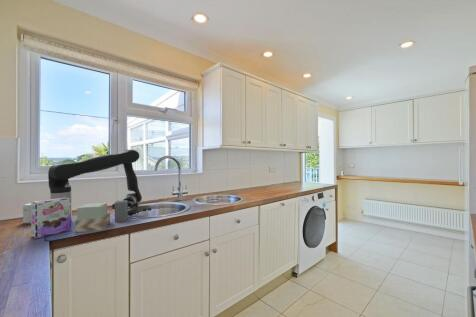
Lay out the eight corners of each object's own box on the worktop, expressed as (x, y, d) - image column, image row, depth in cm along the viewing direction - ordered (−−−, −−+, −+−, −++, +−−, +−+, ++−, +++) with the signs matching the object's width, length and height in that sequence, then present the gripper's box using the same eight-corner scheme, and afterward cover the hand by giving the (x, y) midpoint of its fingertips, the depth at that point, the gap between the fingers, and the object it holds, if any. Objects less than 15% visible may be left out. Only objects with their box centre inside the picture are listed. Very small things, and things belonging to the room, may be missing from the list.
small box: (45, 220, 128) (45, 202, 128) (35, 223, 123) (35, 204, 123) (33, 220, 129) (32, 202, 129) (22, 223, 124) (22, 204, 124)
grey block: (114, 222, 124) (114, 202, 124) (117, 219, 130) (117, 200, 130) (125, 221, 126) (125, 202, 126) (127, 218, 131) (127, 200, 131)
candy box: (35, 239, 99) (34, 202, 99) (30, 236, 102) (30, 201, 102) (71, 230, 111) (70, 197, 110) (66, 228, 114) (65, 196, 114)
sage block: (77, 219, 109) (77, 207, 109) (86, 214, 119) (86, 203, 119) (100, 218, 111) (99, 206, 111) (107, 213, 121) (106, 202, 121)
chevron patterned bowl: (75, 232, 108) (75, 220, 108) (85, 225, 120) (85, 214, 120) (102, 230, 111) (102, 218, 111) (110, 223, 123) (110, 212, 123)
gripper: (117, 197, 145) (109, 202, 130) (140, 196, 149) (135, 200, 133) (117, 208, 145) (109, 214, 130) (140, 207, 149) (136, 212, 133)
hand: (123, 207), depth 132 cm, fingers open, 8 cm apart
